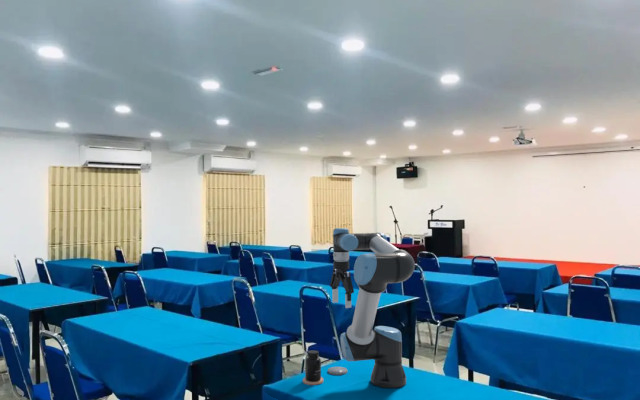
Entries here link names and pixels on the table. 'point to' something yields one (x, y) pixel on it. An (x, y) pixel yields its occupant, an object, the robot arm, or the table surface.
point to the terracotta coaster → (312, 382)
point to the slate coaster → (337, 370)
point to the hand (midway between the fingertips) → (341, 305)
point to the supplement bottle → (313, 366)
